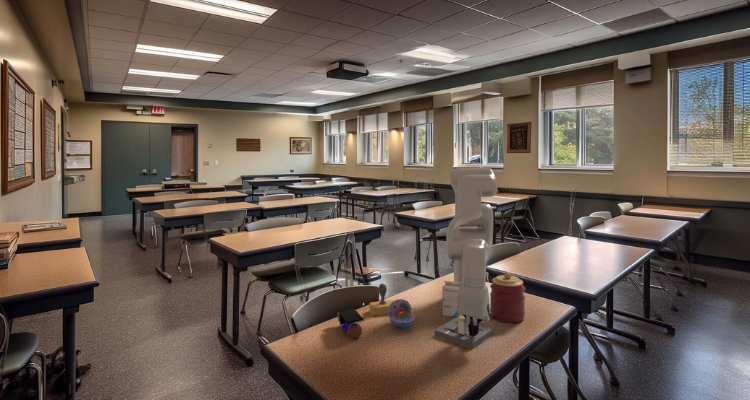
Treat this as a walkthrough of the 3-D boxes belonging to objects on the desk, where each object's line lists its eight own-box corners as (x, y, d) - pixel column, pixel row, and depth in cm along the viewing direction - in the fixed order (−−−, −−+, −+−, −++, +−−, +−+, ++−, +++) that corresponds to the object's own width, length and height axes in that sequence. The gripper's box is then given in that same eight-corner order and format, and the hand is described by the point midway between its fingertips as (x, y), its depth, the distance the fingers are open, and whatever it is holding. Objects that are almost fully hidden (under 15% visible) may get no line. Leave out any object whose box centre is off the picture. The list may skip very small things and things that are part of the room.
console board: (434, 335, 136) (434, 329, 135) (455, 322, 146) (455, 317, 145) (473, 349, 125) (473, 342, 125) (492, 334, 135) (493, 328, 135)
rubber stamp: (392, 308, 162) (392, 280, 160) (396, 313, 156) (396, 284, 155) (369, 311, 159) (368, 282, 158) (372, 316, 154) (372, 287, 152)
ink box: (468, 310, 157) (468, 278, 155) (464, 318, 149) (464, 285, 148) (447, 308, 160) (447, 276, 159) (442, 315, 153) (442, 282, 152)
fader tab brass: (457, 332, 132) (457, 317, 131) (461, 330, 133) (461, 315, 133) (463, 335, 130) (463, 320, 129) (467, 332, 132) (467, 317, 131)
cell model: (395, 334, 137) (394, 308, 136) (383, 321, 149) (383, 297, 148) (420, 330, 140) (420, 304, 139) (407, 317, 152) (407, 293, 151)
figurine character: (336, 329, 146) (347, 342, 132) (335, 309, 146) (346, 319, 132) (353, 326, 148) (366, 338, 134) (352, 306, 148) (365, 316, 134)
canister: (482, 314, 153) (483, 270, 151) (506, 307, 159) (506, 266, 157) (507, 326, 142) (508, 279, 140) (532, 318, 148) (533, 273, 146)
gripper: (448, 279, 129) (448, 332, 131) (489, 289, 119) (489, 345, 121) (459, 274, 135) (459, 325, 137) (500, 283, 125) (499, 337, 126)
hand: (473, 334), depth 129 cm, fingers closed
